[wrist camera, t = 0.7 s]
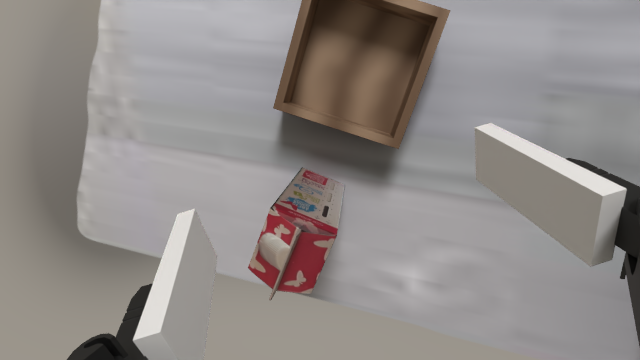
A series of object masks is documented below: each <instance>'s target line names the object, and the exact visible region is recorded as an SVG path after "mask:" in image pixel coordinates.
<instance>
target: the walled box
mask: <svg viewBox="0 0 640 360" xmlns="http://www.w3.org/2000/svg"><path fill="white" fill-rule="evenodd" d="M449 13H450V10H447V9H444V8H440V7H437V6H434V5H431V4H428V3H424V2H421V1H418V0H302V3H301V7H300V10H299V14H298V18H297V21H296V25H295V29H294V33H293V36H292V40H291V44H290V48H289V51H288V55H287V59H286V63H285V66H284V70H283V74H282V77H281V81H280V85H279V89H278V92H277V96H276V100H275V104H274V107H273V108H274V109H277V110H280V111H283V112H286V113H289V114H292V115H295V116H298V117H302V118H305V119H308V120H311V121H314V122H317V123H320V124H323V125H326V126H329V127H332V128H335V129H339V130H342V131H345V132H348V133H351V134H354V135H357V136H360V137H363V138H366V139H369V140H372V141H375V142H379V143H382V144H385V145H388V146H391V147H394V148H397V149H399V146H400V144H401V141H402V138H403V136H404V133H405V130H406V128H407V125H408V122H409V120H410V117H411V114H412V112H413V109H414V106H415V104H416V101H417V98H418V96H419V93H420V90H421V87H422V85H423V82H424V79H425V77H426V74H427V71H428V69H429V66H430V63H431V61H432V58H433V55H434V53H435V50H436V47H437V45H438V42H439V39H440V37H441V34H442V31H443V29H444V26H445V23H446V21H447V18H448V15H449Z"/></svg>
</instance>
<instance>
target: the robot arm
mask: <svg viewBox="0 0 640 360" xmlns="http://www.w3.org/2000/svg"><path fill="white" fill-rule="evenodd" d="M475 154H476V180H478V181H479V182H480V183H482V184H483V185H484V186H486V187H487V188H488V189H490V190H491V191H492V192H494V193H495V194H496V195H497V196H499V197H500V198H501V199H503V200H504V201H505V202H507V203H508V204H509V205H511V206H512V207H513V208H514V209H516V210H517V211H518V212H520V213H521V214H522V215H524V216H525V217H526V218H528V219H529V220H530V221H532V222H533V223H534V224H535V225H537V226H538V227H539V228H541V229H542V230H543V231H545V232H546V233H547V234H549V235H550V236H551V237H552V238H554V239H555V240H556V241H558V242H559V243H560V244H562V245H563V246H564V247H566V248H567V249H568V250H570V251H571V252H572V253H573V254H575V255H576V256H577V257H579V258H580V259H581V260H583V261H584V262H585V263H587V264H588V265H589V266H590V267H591V266H594V265H597V264H600V263H603V262H607V261H610V260H612V258H613V253H614V248H615V245H616V246H618V247H619V248H621V249H623V250H624V251H626V254H625V259H624V263H623V267H622V271H621V276H620V278H621V279H625V275H627V280H628V286H629V291H630V297H631V302H632V308H633V313H634V319H635V324H636V330H637V335H638V341H639V346H640V187H639V186H637V185H634V184H632V183H630V182H628V181H626V180H624V179H621V178H619V177H617V176H615V175H613V174H608V172H606V171H604V170H602V169H598V168H597V167H595V166H593V165H591V164H589V163H587V162H585V161H580V160H576V159H571V158H566V159H564V158H562V157H560V156H558V155H556V154H554V153H552V152H550V151H548V150H545V149H543V148H541V147H539V146H537V145H535V144H533V143H531V142H529V141H527V140H525V139H523V138H521V137H518V136H516V135H514V134H512V133H510V132H508V131H506V130H504V129H502V128H500V127H498V126H496V125H494V124H492V123H489V124H485V125H482V126H478V127H475ZM216 264H217V254H216V252H215V250H214V248H213V246H212V244H211V242H210V240H209V238H208V235H207V233H206V231H205V229H204V227H203V225H202V223H201V221H200V219H199V217H198V214H197V212H196V210H195V209H193V210H189V211H186V212H183V213H179V214H178V215H177V218H176V220H175V223H174V226H173V229H172V232H171V234H170V237H169V240H168V243H167V246H166V248H165V251H164V254H163V257H162V260H161V262H160V265H159V268H158V271H157V274H156V276H155V279H154V282H153V283H152V284H149V285H146V286H142V287H141V288H140V289H139V290H138V291H137V293H136V294H135V295H134V296H133V298H132V299H131V301H130V304H129V306H128V308H127V313H126V314H125V316H124V318H123V323H122V324H121V326H120V328H119V330H118V333H117V335H116V338H115V336H113V335H111V334H100V335H97V336H95V337H92V338H90V339H89V340H87V341H86V342H84V343H82V344H81V345H80V346H79V347H78V348H77V349H76V350H74V351H73V352H72V354H71V355H70V356H69V358H68V359H67V360H203V359H204V351H205V345H206V338H207V330H208V323H209V315H210V308H211V300H212V293H213V286H214V278H215V271H216Z"/></svg>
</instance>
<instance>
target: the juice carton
mask: <svg viewBox="0 0 640 360" xmlns="http://www.w3.org/2000/svg"><path fill="white" fill-rule="evenodd" d="M344 187H345V185H344V184H341V183H339V182H336V181H334V180H332V179H329V178H327V177H324V176H322V175H319V174H317V173H315V172H312V171H310V170H307V169H305V168H301V170H300V171H299V172H298V174H297V175H296V176H295V177H294V179H293V180H292V181H291V183H290V184H289V185H288V186H287V188H286V189H285V190H284V191H283V193H282V194H281V195H280V197H279V198H278V199H277V200H276V202H275V203H274V204H273V206H272V207H271V208H270V211H269V213H268V216H267V219H266V221H265V224H264V227H263V229H262V232H261V235H260V237H259V240H258V243H257V245H256V248H255V251H254V253H253V256H252V259H251V261H250V264H249V267H248V268H249V269H250V270H251V271H252V272H253V273H254V274H255V275H256V276H257V277H259V278H260V279H261V280H262V281H263V282H265V283H266V284H267V285H268V286H269V287H271V288H272V289H273V291H272V293H271V296H270V298H269V300H271V299H272V297H273V296H274V294H275V292H276V291H284V292H294V293H311V292H312V290H313V288H314V285H315V283H316V281H317V279H318V276H319V274H320V272H321V270H322V267H323V265H324V263H325V261H326V258H327V256H328V254H329V251H330V249H331V247H332V245H333V242H334V240H335V238H336V236H337V230H338V224H339V218H340V212H341V206H342V200H343V194H344Z"/></svg>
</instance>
